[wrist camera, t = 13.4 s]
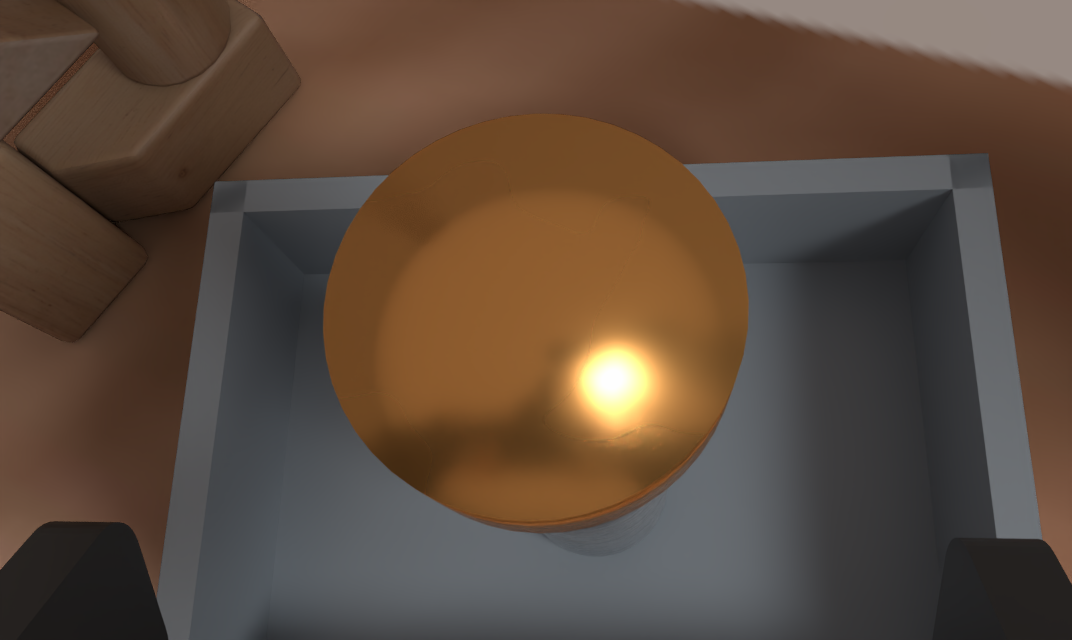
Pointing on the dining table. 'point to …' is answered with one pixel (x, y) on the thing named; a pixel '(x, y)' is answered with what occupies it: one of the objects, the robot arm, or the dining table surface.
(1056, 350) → the dining table surface
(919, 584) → the grey tray with sleeve
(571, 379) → the pin
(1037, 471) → the dining table surface
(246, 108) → the brown wooden stand
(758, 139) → the dining table surface
